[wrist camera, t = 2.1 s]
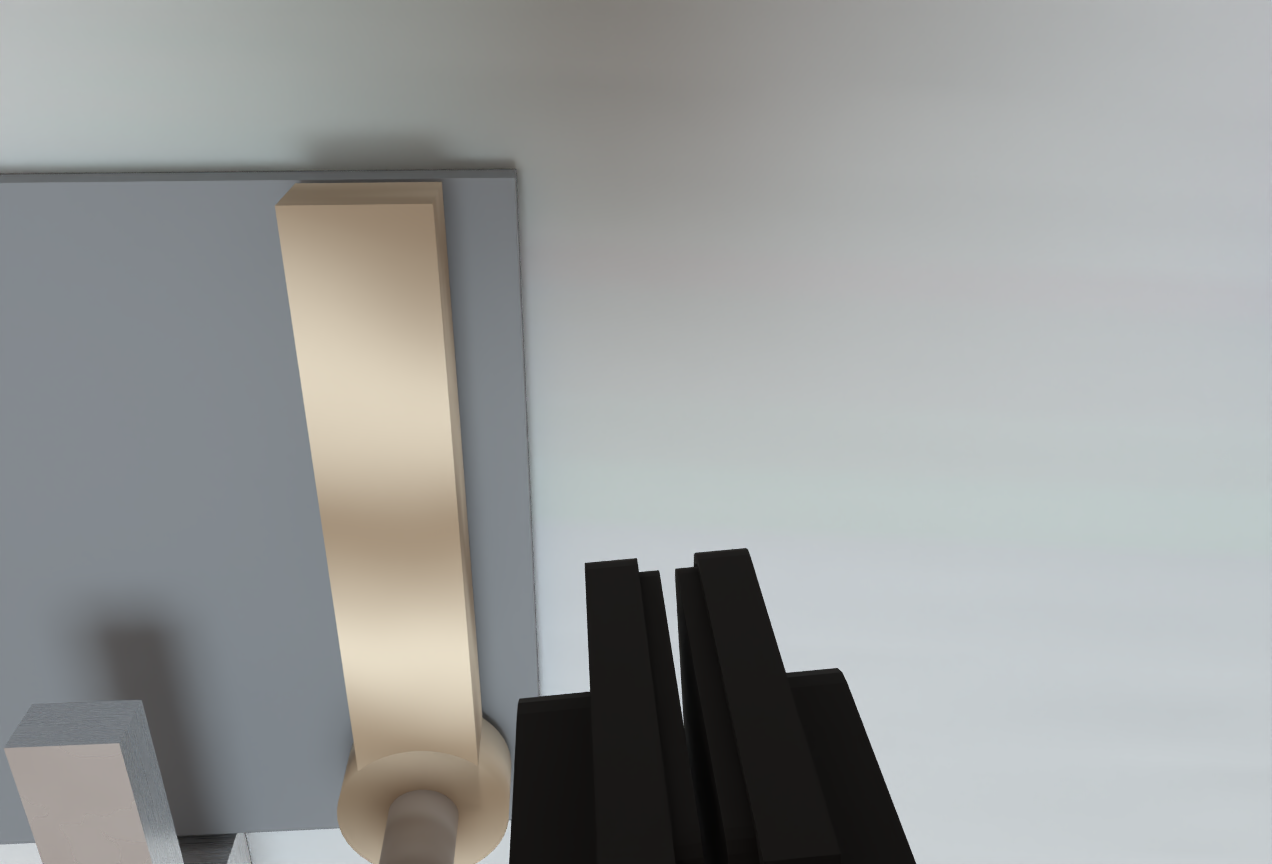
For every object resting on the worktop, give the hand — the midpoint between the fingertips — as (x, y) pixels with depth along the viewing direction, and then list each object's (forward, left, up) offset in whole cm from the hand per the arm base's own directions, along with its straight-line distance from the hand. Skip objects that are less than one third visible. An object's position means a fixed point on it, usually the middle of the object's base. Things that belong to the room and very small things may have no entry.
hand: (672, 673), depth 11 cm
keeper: (+14, -12, -15) cm, 24 cm away
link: (+7, -5, -14) cm, 16 cm away
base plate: (+7, -12, -15) cm, 20 cm away
